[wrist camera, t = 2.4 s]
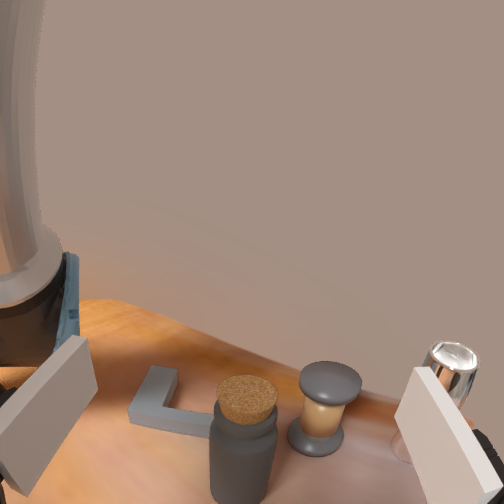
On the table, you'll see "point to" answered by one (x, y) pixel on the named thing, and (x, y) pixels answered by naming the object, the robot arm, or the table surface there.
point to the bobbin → (323, 407)
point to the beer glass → (446, 379)
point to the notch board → (165, 406)
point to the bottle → (242, 439)
